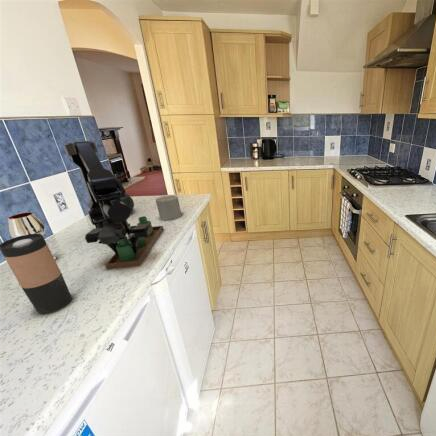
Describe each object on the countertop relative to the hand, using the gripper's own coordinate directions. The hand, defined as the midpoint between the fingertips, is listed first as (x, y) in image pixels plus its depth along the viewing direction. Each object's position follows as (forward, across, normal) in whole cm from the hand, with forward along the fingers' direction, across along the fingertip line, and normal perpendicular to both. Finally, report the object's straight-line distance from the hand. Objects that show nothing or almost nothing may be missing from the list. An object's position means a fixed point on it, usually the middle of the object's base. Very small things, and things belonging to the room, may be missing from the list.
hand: (127, 254), depth 86 cm
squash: (+2, -23, +50) cm, 55 cm away
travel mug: (+2, -11, -20) cm, 23 cm away
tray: (+2, 0, +10) cm, 10 cm away
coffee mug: (+2, +4, +42) cm, 42 cm away
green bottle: (+2, 0, 0) cm, 2 cm away
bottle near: (+2, 0, +19) cm, 19 cm away
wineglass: (+2, -30, +6) cm, 31 cm away
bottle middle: (+2, 0, +10) cm, 10 cm away
